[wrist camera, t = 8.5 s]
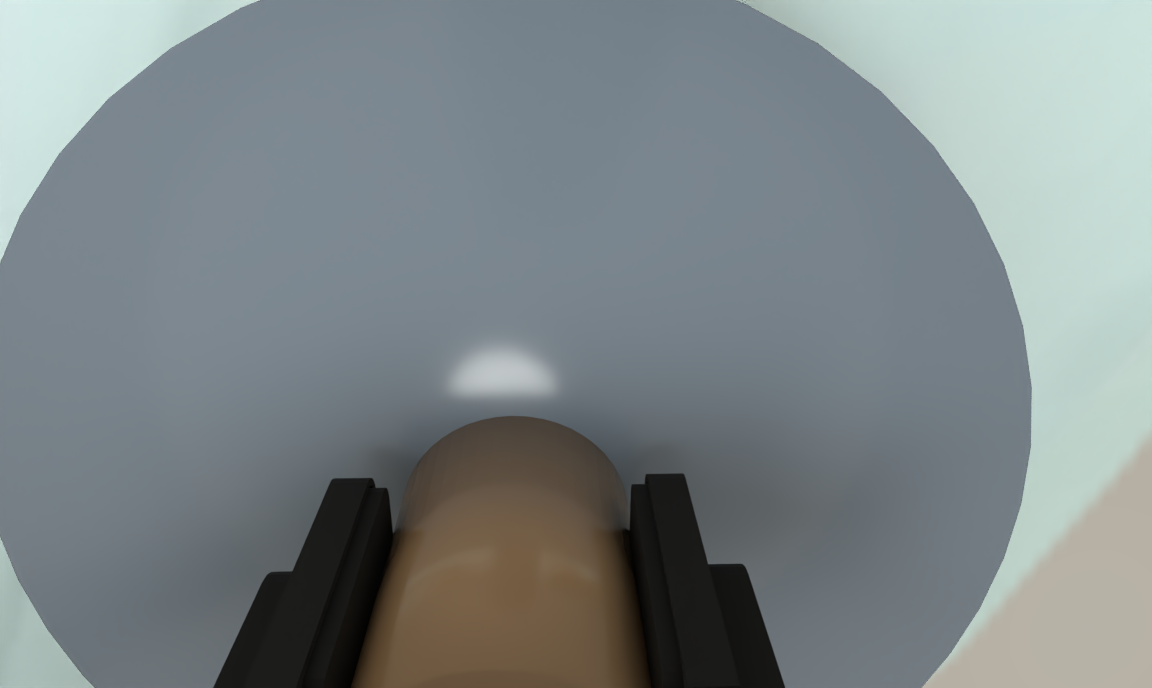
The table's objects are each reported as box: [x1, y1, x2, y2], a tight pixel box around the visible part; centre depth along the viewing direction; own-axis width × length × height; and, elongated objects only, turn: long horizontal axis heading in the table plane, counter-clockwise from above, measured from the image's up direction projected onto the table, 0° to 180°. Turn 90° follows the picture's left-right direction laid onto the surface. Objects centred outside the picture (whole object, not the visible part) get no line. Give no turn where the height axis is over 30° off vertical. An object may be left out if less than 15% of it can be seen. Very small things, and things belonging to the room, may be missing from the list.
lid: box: [0, 0, 1032, 688], centre depth 12 cm, size 16×16×6 cm
